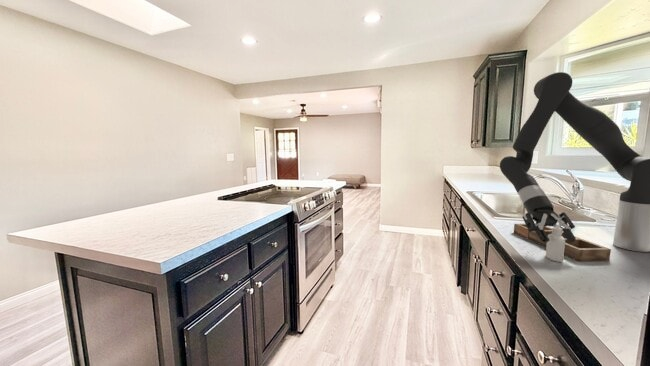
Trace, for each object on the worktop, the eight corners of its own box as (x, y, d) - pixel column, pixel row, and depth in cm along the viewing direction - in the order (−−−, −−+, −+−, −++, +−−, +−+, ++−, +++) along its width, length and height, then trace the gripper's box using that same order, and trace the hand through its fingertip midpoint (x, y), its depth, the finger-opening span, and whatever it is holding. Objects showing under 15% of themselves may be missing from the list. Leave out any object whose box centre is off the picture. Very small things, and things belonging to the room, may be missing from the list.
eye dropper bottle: (562, 257, 88) (566, 223, 86) (563, 263, 83) (567, 227, 82) (545, 254, 91) (549, 221, 89) (545, 259, 86) (549, 225, 85)
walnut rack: (537, 232, 113) (538, 223, 113) (609, 260, 85) (611, 249, 84) (512, 232, 113) (513, 223, 113) (577, 261, 85) (578, 249, 84)
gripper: (521, 194, 91) (546, 237, 82) (561, 194, 92) (590, 236, 82) (509, 206, 97) (530, 246, 88) (547, 205, 98) (572, 246, 88)
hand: (559, 241), depth 85 cm, fingers open, 8 cm apart
